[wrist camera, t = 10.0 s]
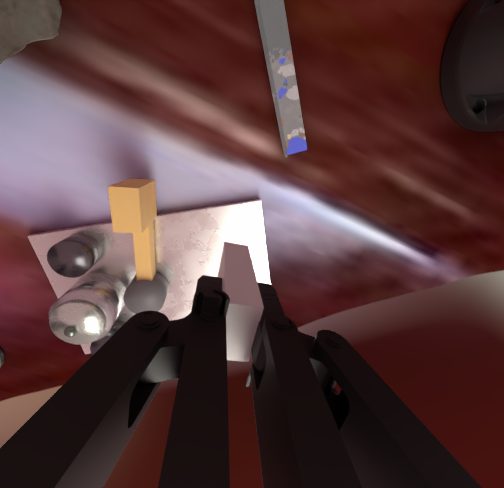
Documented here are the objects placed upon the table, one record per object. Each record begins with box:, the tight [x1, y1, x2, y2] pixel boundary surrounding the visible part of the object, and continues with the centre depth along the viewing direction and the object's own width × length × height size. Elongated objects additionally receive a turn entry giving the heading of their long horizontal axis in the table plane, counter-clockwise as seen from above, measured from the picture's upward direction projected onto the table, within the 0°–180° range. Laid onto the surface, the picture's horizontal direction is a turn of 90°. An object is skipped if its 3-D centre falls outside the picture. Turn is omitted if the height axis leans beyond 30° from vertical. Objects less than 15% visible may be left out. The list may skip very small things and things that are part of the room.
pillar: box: [254, 0, 307, 157], centre depth 24 cm, size 2×2×20 cm
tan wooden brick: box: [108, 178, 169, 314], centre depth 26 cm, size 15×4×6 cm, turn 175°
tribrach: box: [28, 199, 271, 355], centre depth 29 cm, size 26×17×7 cm, turn 97°
